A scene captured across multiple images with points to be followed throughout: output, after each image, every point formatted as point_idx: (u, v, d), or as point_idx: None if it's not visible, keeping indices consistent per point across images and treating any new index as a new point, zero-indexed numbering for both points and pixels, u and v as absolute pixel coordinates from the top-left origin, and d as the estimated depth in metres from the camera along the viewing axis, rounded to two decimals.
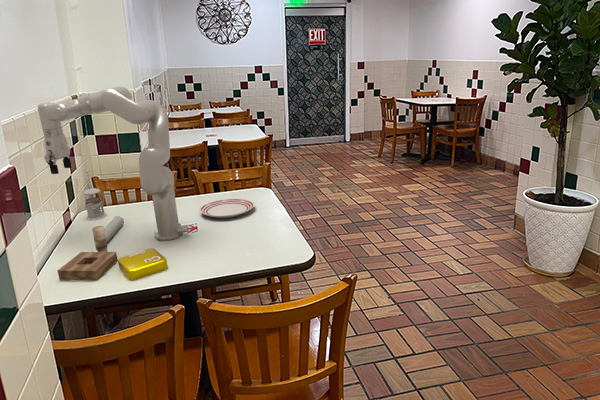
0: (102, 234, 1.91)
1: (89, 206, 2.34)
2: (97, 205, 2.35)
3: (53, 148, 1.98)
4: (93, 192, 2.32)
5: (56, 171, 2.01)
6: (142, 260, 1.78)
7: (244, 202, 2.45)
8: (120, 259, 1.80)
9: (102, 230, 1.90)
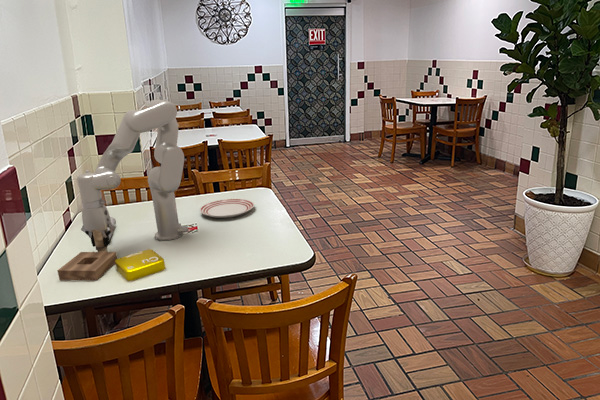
0: (102, 234, 1.91)
1: None
2: None
3: (109, 216, 1.91)
4: None
5: None
6: (140, 261, 1.78)
7: (244, 202, 2.45)
8: (117, 260, 1.79)
9: None
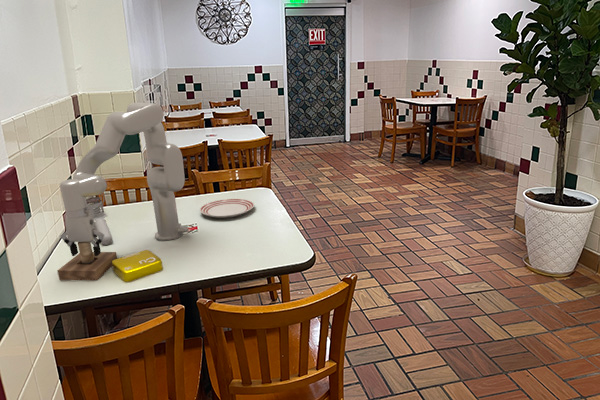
0: (88, 248, 1.77)
1: (89, 206, 2.34)
2: (97, 205, 2.35)
3: (95, 225, 1.77)
4: None
5: None
6: (137, 261, 1.77)
7: (244, 202, 2.45)
8: (114, 261, 1.78)
9: (88, 244, 1.77)
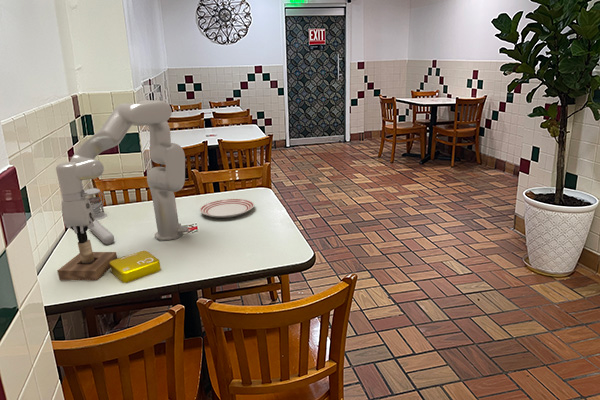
0: (88, 248, 1.77)
1: None
2: (97, 205, 2.35)
3: (91, 209, 1.75)
4: (93, 192, 2.32)
5: (86, 238, 1.78)
6: (135, 262, 1.77)
7: (244, 202, 2.45)
8: (112, 262, 1.78)
9: (88, 244, 1.77)
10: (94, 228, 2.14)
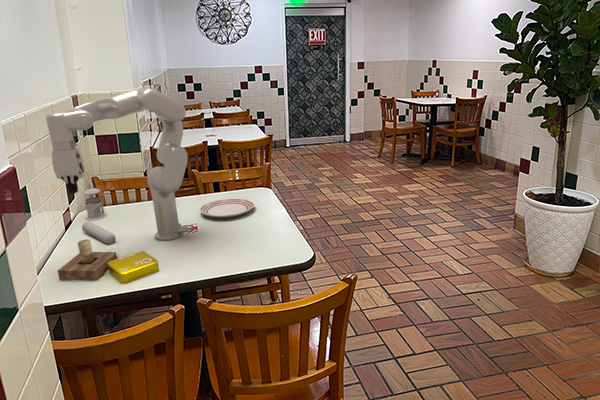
0: (88, 248, 1.77)
1: (89, 206, 2.34)
2: (97, 205, 2.35)
3: (82, 160, 1.77)
4: (93, 192, 2.32)
5: None
6: (133, 263, 1.76)
7: (244, 202, 2.45)
8: (110, 262, 1.77)
9: (88, 244, 1.77)
10: (91, 229, 2.13)
